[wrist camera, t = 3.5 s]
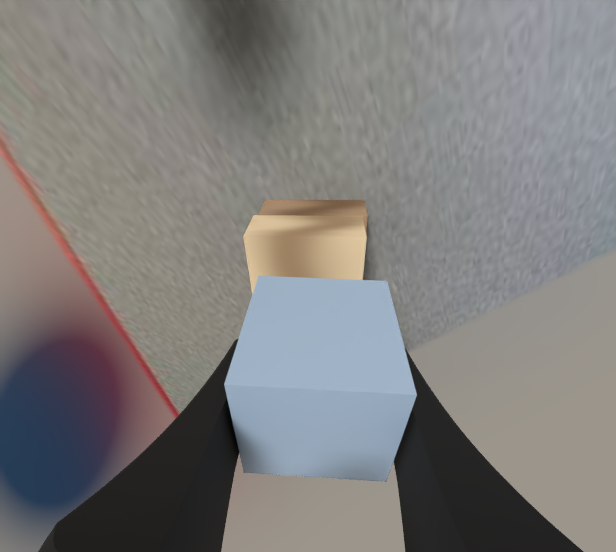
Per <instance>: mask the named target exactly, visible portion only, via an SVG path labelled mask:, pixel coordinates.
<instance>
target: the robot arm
mask: <svg viewBox="0 0 616 552" xmlns="http://www.w3.org/2000/svg"><path fill="white" fill-rule="evenodd" d="M237 342H238V339H237V340H235V341H234V343H233V345H232V346H231V348H230V349H229V351H228V352H227V354H226V355H225V357H224V358H223V360H222V361H221V363H220V364H219V366H218V367H217V368H216V370H215V371H214V373H213V374H212V375H211V377H210V378H209V379H208V381H207V382H206V383H205V385H204V386H203V387H202V388H201V390H200V391H199V392H198V393H197V395H196V396H195V397H194V398H193V399H192V401H191V402H190V403H189V404H188V405H187V407H186V408H185V409H184V410H183V411H182V412H181V414H180V415H179V416H178V417H177V418H176V419H175V420H174V421H173V422H172V423H171V424H170V426H169V427H168V428H167V429H166V430H165V431H164V432H163V433H162V434H161V435H160V436H159V437H158V438H157V439H156V440H155V441H154V442H153V443H152V444H151V445H150V446H149V447H148V448H147V449H146V450H145V451H143V453H141V454H140V455H139V456H138V457H137V458H136V459H135V460H134V461H133V462H131V463H130V464H129V465H128V466H127V467H126V468H124V469H123V470H122V471H121V472H120V473H119V474H118V475H116V476H115V477H114V478H113V479H112V480H111V481H109V483H107V484H106V485H105V486H104V487H102V488H101V489H100V490H99V491H97V492H96V493H95V494H94V495H92V496H91V497H90V498H89V499H87V500H86V501H85V502H84V503H82V504H81V505H80V506H79V507H77V508H76V509H75V510H73V511H72V512H71V513H69V514H68V515H67V516H65V517H64V518H63V519H61V520H60V521H59V522H58V523H57V524H56V525H55V527H54V528H53V530H52V531H51V533H50V534H49V536H48V537H47V539H46V540H45V542H44V543H43V545H42V546H41V548H40V550H39V551H38V552H221V548H222V541H223V535H224V529H225V523H226V517H227V511H228V505H229V499H230V493H231V488H232V483H233V477H234V472H235V467H236V463H237V459H238V455H239V449H238V444H237V440H236V435H235V431H234V426H233V422H232V418H231V413H230V409H229V404H228V400H227V395H226V391H225V386H224V383H225V380H226V377H227V374H228V371H229V368H230V365H231V361H232V358H233V355H234V352H235V349H236V346H237ZM404 348H405V347H404ZM405 352H406V355H407V359H408V363H409V367H410V371H411V374H412V378H413V382H414V386H415V389H416V393H417V396H416V399H415V402H414V405H413V408H412V410H411V413H410V416H409V419H408V422H407V425H406V427H405V430H404V433H403V436H402V439H401V442H400V444H399V447H398V450H397V453H396V456H395V459H394V465H395V470H396V476H397V482H398V489H399V497H400V506H401V514H402V523H403V532H404V542H405V552H583V551H582V550H581V549H580V548H578V547H577V546H576V545H575V544H574V543H573V542H571V541H570V540H569V539H568V538H567V537H566V536H565V535H563V534H562V533H561V532H560V531H559V530H558V529H556V528H555V527H554V526H553V525H552V524H551V523H550V522H549V521H548V520H547V519H545V518H544V517H543V516H542V515H541V514H540V513H539V512H538V511H537V510H536V509H535V508H534V507H533V506H532V505H531V504H529V503H528V502H527V501H526V500H525V499H524V498H523V497H522V496H521V495H520V494H519V493H518V492H517V491H516V490H515V489H514V488H513V487H512V486H511V485H510V484H509V483H508V482H507V481H506V480H505V479H504V478H503V477H502V476H501V475H500V473H499V472H498V471H496V470H495V468H494V467H493V466H492V465H491V464H490V463H489V462H488V461H487V460H486V459H485V457H484V456H483V455H482V454H481V453H480V452H479V451H478V450H477V449H476V447H475V446H474V445H473V444H472V443H471V442H470V440H469V439H468V438H467V437H466V436H465V434H464V433H463V432H462V431H461V430H460V428H459V427H458V426H457V425H456V423H455V422H454V421H453V419H452V418H451V417H450V415H449V414H448V413H447V411H446V410H445V409H444V407H443V406H442V405H441V403H440V402H439V400H438V399H437V398H436V396H435V395H434V393H433V392H432V391H431V389H430V387H429V386H428V384H427V383H426V381H425V380H424V378H423V377H422V375H421V374H420V372H419V370H418V369H417V367H416V365H415V364H414V362H413V361H412V359H411V357H410V355H409V354H408V352H407V350H406V348H405Z"/></svg>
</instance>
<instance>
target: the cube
mask: <svg viewBox="0 0 616 552" xmlns="http://www.w3.org/2000/svg"><path fill="white" fill-rule="evenodd" d="M224 386H225V391H226V395H227V400H228V404H229V409H230V413H231V418H232V422H233V426H234V431H235V435H236V440H237V444H238V449H239V453H240V458H241V462H242V467H243V471H244V473H260V474H275V475H290V476H306V477H322V478H338V479H354V480H370V481H385V482H386V481H387V478H388V475H389V473H390V470H391V467H392V464H393V461H394V459H395V456H396V453H397V450H398V447H399V444H400V442H401V439H402V436H403V433H404V430H405V427H406V425H407V422H408V419H409V416H410V413H411V410H412V408H413V405H414V402H415V399H416V396H417V393H416V389H415V386H414V382H413V378H412V374H411V371H410V367H409V363H408V359H407V355H406V352H405V348H404V344H403V340H402V336H401V333H400V329H399V325H398V321H397V317H396V314H395V310H394V306H393V302H392V298H391V295H390V291H389V287H388V283H387V281H374V280H350V279H326V278H302V277H277V276H258V279H257V282H256V286H255V289H254V292H253V295H252V298H251V301H250V304H249V308H248V311H247V314H246V317H245V320H244V323H243V327H242V330H241V333H240V336H239V339H238V342H237V346H236V349H235V352H234V355H233V358H232V361H231V365H230V368H229V371H228V374H227V377H226V380H225V383H224Z"/></svg>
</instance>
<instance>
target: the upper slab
mask: <svg viewBox="0 0 616 552" xmlns="http://www.w3.org/2000/svg"><path fill="white" fill-rule="evenodd" d="M243 237H244V243H245V250H246V256H247V262H248V269H249V275H250V282H251V288H252V294H253V292H254V289H255V286H256V282H257V279H258V276H277V277H302V278H326V279H350V280H363V271H364V260H365V250H366V240H367V237H366V231H365V226H364V221H363V216H295V215H254V216H253V218H252V220H251V222H250V224H249V226H248V228H247V230H246V232H245V234H244V236H243Z"/></svg>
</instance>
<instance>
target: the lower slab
mask: <svg viewBox="0 0 616 552" xmlns="http://www.w3.org/2000/svg"><path fill="white" fill-rule="evenodd" d="M259 215H295V216H363V221H364V226H365V231H366V227H367V216H368V215H367V210H366V206H365V202H364V200H265V201H264V203H263V206H262V208H261V210H260V212H259Z"/></svg>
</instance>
